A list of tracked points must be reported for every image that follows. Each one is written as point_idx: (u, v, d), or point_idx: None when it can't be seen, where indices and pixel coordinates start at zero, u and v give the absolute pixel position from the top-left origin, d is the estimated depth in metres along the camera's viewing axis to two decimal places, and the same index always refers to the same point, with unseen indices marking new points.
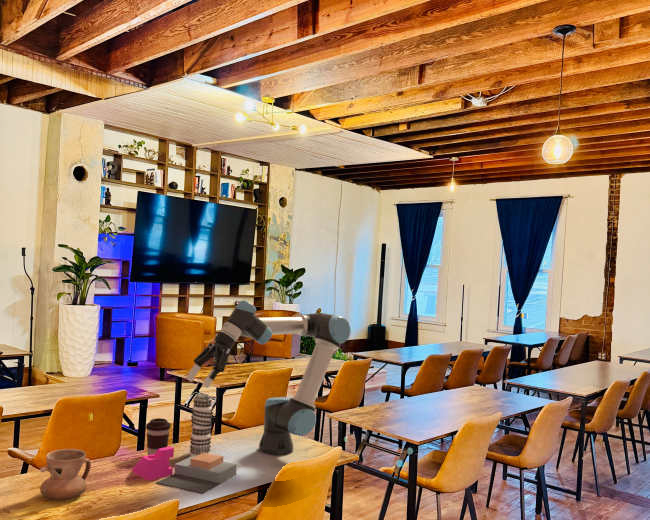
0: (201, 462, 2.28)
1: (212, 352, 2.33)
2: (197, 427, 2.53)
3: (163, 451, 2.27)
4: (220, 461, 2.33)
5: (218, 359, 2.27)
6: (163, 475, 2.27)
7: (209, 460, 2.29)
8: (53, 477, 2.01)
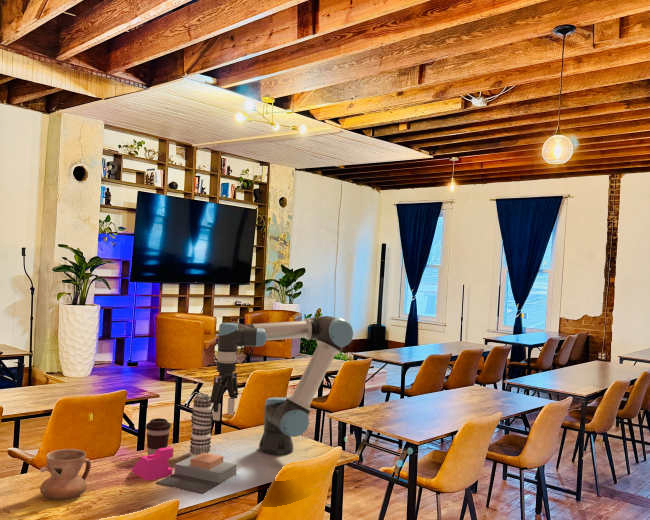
0: (201, 462, 2.28)
1: None
2: (197, 427, 2.53)
3: (162, 451, 2.27)
4: (220, 461, 2.33)
5: None
6: (162, 475, 2.27)
7: (209, 460, 2.29)
8: (53, 477, 2.01)
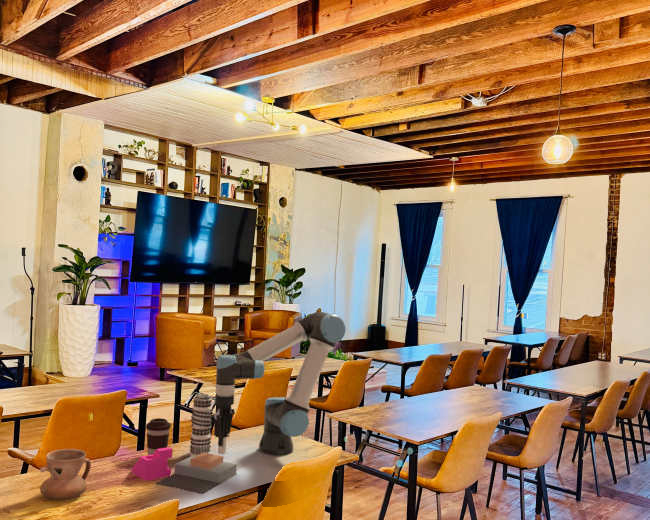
0: (201, 462, 2.28)
1: None
2: (197, 427, 2.53)
3: (161, 452, 2.26)
4: (220, 461, 2.33)
5: None
6: (161, 476, 2.27)
7: (209, 460, 2.29)
8: (53, 477, 2.01)
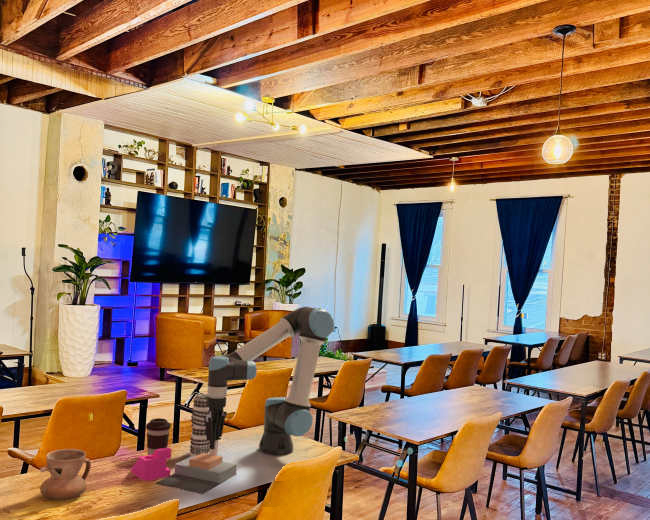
0: (200, 462, 2.28)
1: None
2: (197, 427, 2.53)
3: (160, 452, 2.26)
4: (219, 462, 2.33)
5: None
6: (160, 476, 2.26)
7: (208, 460, 2.29)
8: (53, 477, 2.01)
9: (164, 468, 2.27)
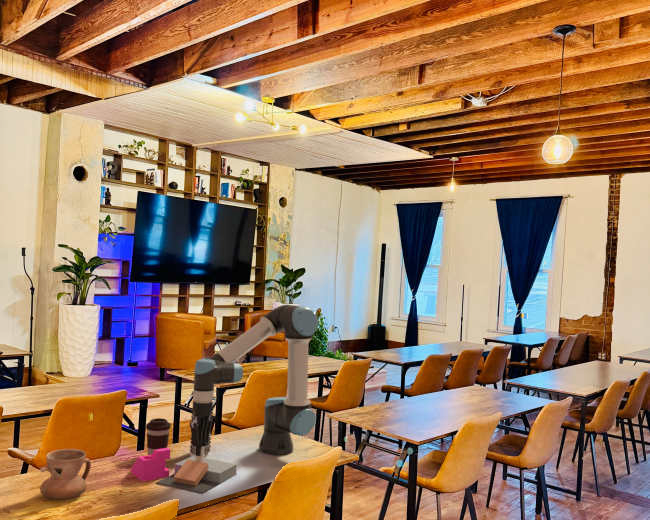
0: (185, 480, 2.19)
1: None
2: None
3: (159, 452, 2.25)
4: (206, 470, 2.24)
5: None
6: (159, 476, 2.26)
7: (193, 476, 2.20)
8: (53, 477, 2.01)
9: (163, 468, 2.27)
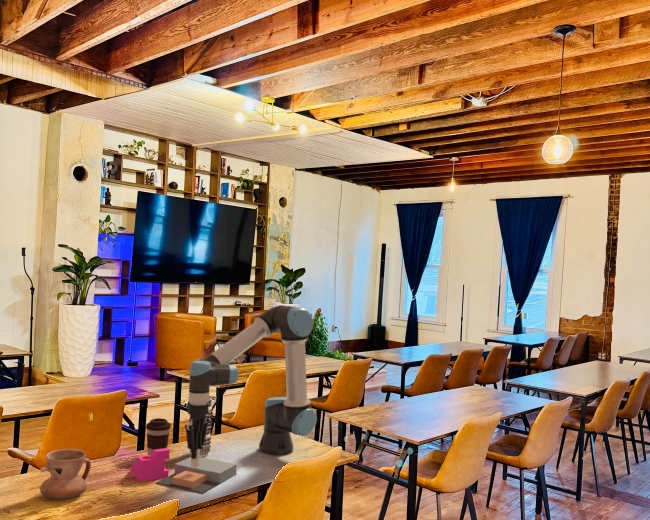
0: (183, 481, 2.18)
1: None
2: None
3: (158, 452, 2.25)
4: (204, 480, 2.23)
5: None
6: (158, 477, 2.25)
7: (191, 478, 2.19)
8: (53, 477, 2.01)
9: (162, 469, 2.26)
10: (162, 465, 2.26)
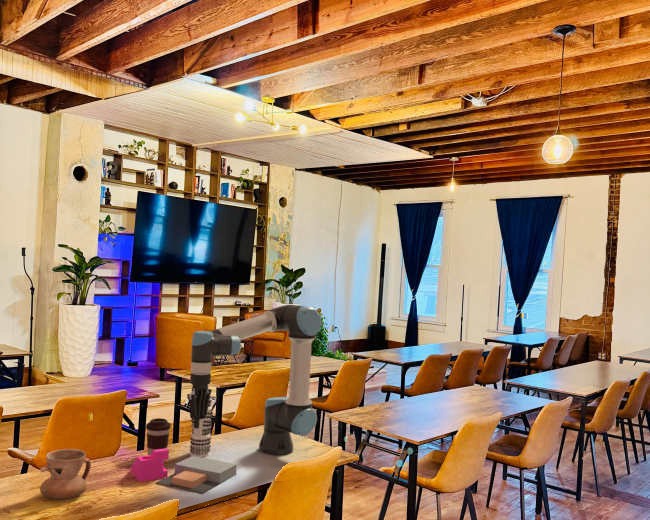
0: (183, 481, 2.18)
1: None
2: None
3: (157, 453, 2.25)
4: (204, 480, 2.23)
5: None
6: (157, 477, 2.25)
7: (191, 478, 2.19)
8: (53, 477, 2.01)
9: (161, 469, 2.26)
10: (161, 465, 2.26)
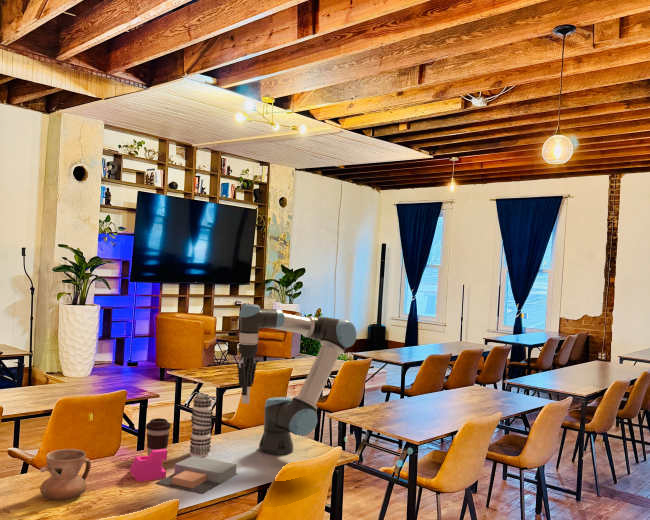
0: (183, 481, 2.18)
1: None
2: (197, 427, 2.53)
3: (155, 453, 2.24)
4: (204, 480, 2.23)
5: None
6: (155, 477, 2.25)
7: (191, 478, 2.19)
8: (53, 477, 2.01)
9: (159, 469, 2.25)
10: (159, 466, 2.25)
